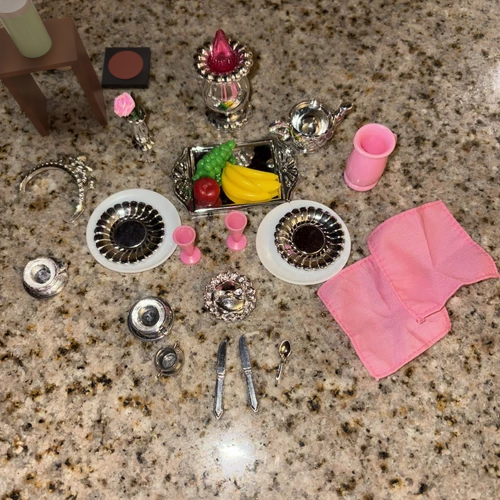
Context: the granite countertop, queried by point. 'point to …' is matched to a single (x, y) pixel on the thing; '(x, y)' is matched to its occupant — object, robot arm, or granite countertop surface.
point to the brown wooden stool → (60, 55)
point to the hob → (126, 67)
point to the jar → (25, 27)
